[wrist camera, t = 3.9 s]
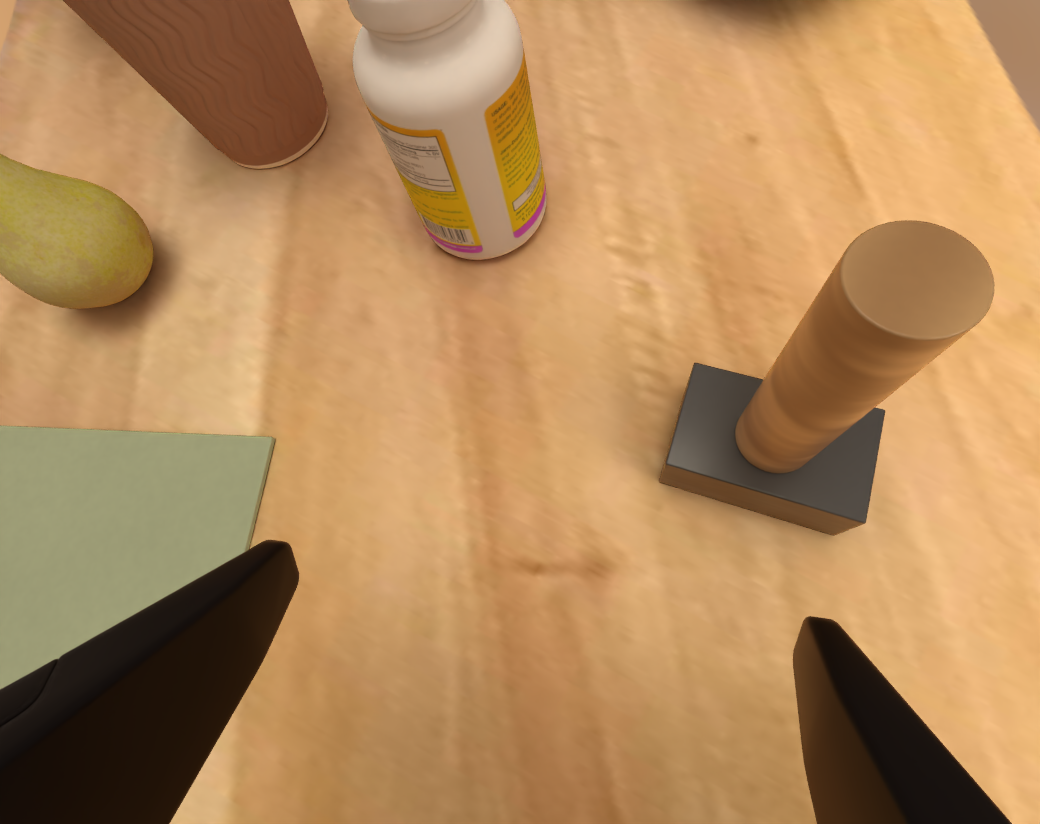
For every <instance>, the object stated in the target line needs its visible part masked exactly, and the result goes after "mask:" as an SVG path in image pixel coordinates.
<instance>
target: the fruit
mask: <svg viewBox="0 0 1040 824" xmlns="http://www.w3.org/2000/svg"><path fill="white" fill-rule="evenodd" d="M152 262H153V246H152V242H151V238H150V235H149V232H148V229H147V227H146V225H145V223H144V222H143V220H142V219H141V217H140V216H139V215H138V213H137V212H136V211H135V210H134V209H133V208H132V207H131V206H130V205H128V204H127V203H126V202H125V201H124V200H122V199H121V198H120V197H119V196H117V195H116V194H114V193H113V192H111V191H109V190H107V189H105V188H103V187H100V186H98V185H96V184H93V183H90V182H87V181H84V180H80V179H76V178H71V177H67V176H63V175H59V174H55V173H51V172H47V171H43V170H38V169H35V168H32V167H29V166H27V165H24V164H22V163H19V162H17V161H14V160H12V159H9V158H8V157H6V156H4V155H2V154H0V273H1V274H2V275H3V276H4V277H5V278H6V279H7V280H8V281H10V282H11V283H12V284H14V285H15V286H16V287H18V288H19V289H21V290H23V291H24V292H26V293H27V294H29V295H31V296H32V297H34V298H36V299H38V300H40V301H42V302H45V303H48V304H51V305H54V306H58V307H63V308H70V309H84V308H94V307H102V306H108V305H111V304H115V303H118V302H120V301H122V300H124V299H126V298H128V297H129V296H131V295H132V294H133V293H134V292H136V291H137V290H138V289H139V287H140V286H141V285H142V284H143V283H144V281H145V280H146V278H147V277H148V274H149V272H150V269H151V266H152Z"/></svg>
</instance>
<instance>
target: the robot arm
mask: <svg viewBox="0 0 1040 824" xmlns="http://www.w3.org/2000/svg"><path fill="white" fill-rule="evenodd" d="M298 582H299V571H298V568H297V565H296V561H295V558H294V555H293V552H292V548H291V546H290V545H289V544H288V543H287V542H283V541H276V540H266V541H263V542H261V543H260V544H258V545H256V546H254V547H252V548H251V549H249V550H247V551H245V552H244V553H242V554H240V555H238V556H237V557H235V558H233V559H231V560H229V561H228V562H226V563H224V564H222V565H221V566H219V567H217V568H215V569H214V570H212V571H210V572H208V573H206V574H205V575H203V576H201V577H199V578H198V579H196V580H194V581H192V582H191V583H189V584H187V585H185V586H183V587H182V588H180V589H178V590H176V591H175V592H173V593H171V594H169V595H168V596H166V597H164V598H162V599H160V600H159V601H157V602H155V603H153V604H152V605H150V606H148V607H146V608H145V609H143V610H141V611H139V612H137V613H136V614H134V615H132V616H130V617H129V618H127V619H125V620H123V621H122V622H120V623H118V624H116V625H114V626H113V627H111V628H109V629H107V630H106V631H104V632H102V633H100V634H98V635H97V636H95V637H93V638H91V639H90V640H88V641H86V642H84V643H83V644H81V645H79V646H77V647H75V648H74V649H72V650H70V651H68V652H67V653H65V654H63V655H61V656H60V658H59V659H54V660H52V661H50V662H49V663H47V664H45V665H43V666H42V667H40V668H38V669H36V670H35V671H33V672H31V673H29V674H27V675H26V676H24V677H22V678H20V679H18V680H16V681H15V682H13V683H11V684H9V685H7V686H5V687H4V688H2V689H0V824H169V823H170V822H171V820H172V818H173V817H174V815H175V813H176V811H177V810H178V808H179V806H180V804H181V803H182V801H183V799H184V798H185V796H186V794H187V792H188V791H189V789H190V787H191V785H192V784H193V782H194V780H195V778H196V777H197V775H198V773H199V772H200V770H201V768H202V766H203V765H204V763H205V761H206V759H207V758H208V756H209V754H210V752H211V751H212V749H213V747H214V746H215V744H216V742H217V740H218V739H219V737H220V735H221V733H222V732H223V730H224V728H225V726H226V725H227V723H228V721H229V720H230V718H231V716H232V714H233V713H234V711H235V709H236V707H237V706H238V704H239V702H240V701H241V699H242V697H243V695H244V694H245V692H246V690H247V688H248V687H249V685H250V683H251V681H252V680H253V678H254V676H255V675H256V673H257V671H258V669H259V667H260V665H261V664H262V662H263V660H264V658H265V656H266V654H267V652H268V650H269V647H270V645H271V643H272V641H273V639H274V636H275V634H276V632H277V630H278V628H279V625H280V623H281V621H282V619H283V617H284V614H285V612H286V610H287V608H288V606H289V603H290V601H291V599H292V597H293V595H294V592H295V590H296V588H297V585H298ZM793 669H794V678H795V687H796V696H797V705H798V714H799V724H800V733H801V742H802V750H803V758H804V765H805V770H806V776H807V781H808V785H809V790H810V794H811V799H812V803H813V808H814V812H815V817H816V821H817V824H1012V823H1011V822H1010V821H1009V820H1008V819H1007V817H1006V816H1005V815H1004V814H1003V813H1002V812H1001V810H1000V809H999V808H998V807H997V806H996V805H995V804H994V802H993V801H992V800H991V799H990V798H989V797H988V796H987V794H986V793H985V792H984V791H983V790H982V789H981V787H980V786H979V785H978V784H977V783H976V782H975V781H974V779H973V778H972V777H971V776H970V775H969V774H968V772H967V771H966V770H965V769H964V768H963V767H962V766H961V764H960V763H959V762H958V761H957V760H956V759H955V757H954V756H953V755H952V754H951V753H950V752H949V751H948V749H947V748H946V747H945V746H944V745H943V744H942V743H941V741H940V740H939V739H938V738H937V737H936V736H935V734H934V733H933V732H932V731H931V730H930V729H929V728H928V726H927V725H926V724H925V723H924V722H923V721H922V719H921V718H920V717H919V716H918V715H917V714H916V713H915V711H914V710H913V709H912V708H911V707H910V706H909V705H908V703H907V702H906V701H905V700H904V699H903V698H902V696H901V695H900V694H899V693H898V692H897V691H896V690H895V688H894V687H893V686H892V685H891V684H890V683H889V681H888V680H887V679H886V678H885V677H884V676H883V675H882V673H881V672H880V671H879V670H878V669H877V668H876V667H875V665H874V664H873V663H872V662H871V661H870V660H869V658H868V657H867V656H866V655H865V654H864V653H863V652H862V650H861V649H860V648H859V647H858V646H857V645H856V643H855V642H854V641H853V640H852V639H851V638H850V637H849V635H848V634H847V633H846V632H845V631H844V630H843V629H842V627H841V626H840V625H839V624H838V623H837V622H835V621H834V620H831V619H825V618H818V617H811V616H810V617H806V618H805V620H804V621H803V624H802V627H801V630H800V633H799V636H798V639H797V642H796V645H795V648H794V653H793Z"/></svg>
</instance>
